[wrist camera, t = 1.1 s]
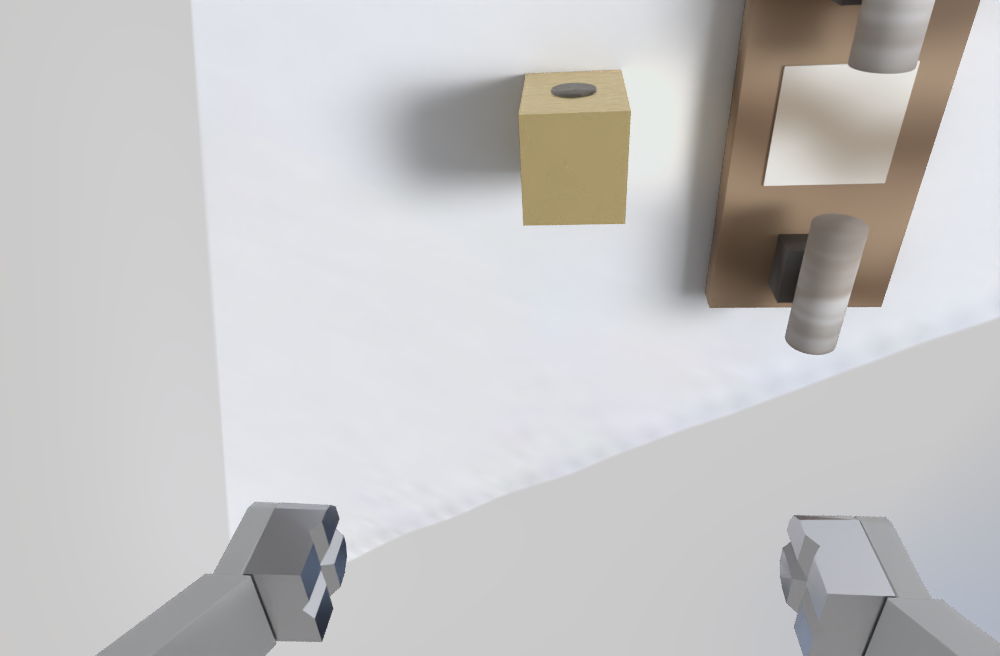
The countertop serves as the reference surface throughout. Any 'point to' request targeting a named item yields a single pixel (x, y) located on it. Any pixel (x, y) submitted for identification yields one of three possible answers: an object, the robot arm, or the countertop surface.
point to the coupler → (574, 148)
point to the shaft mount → (828, 153)
